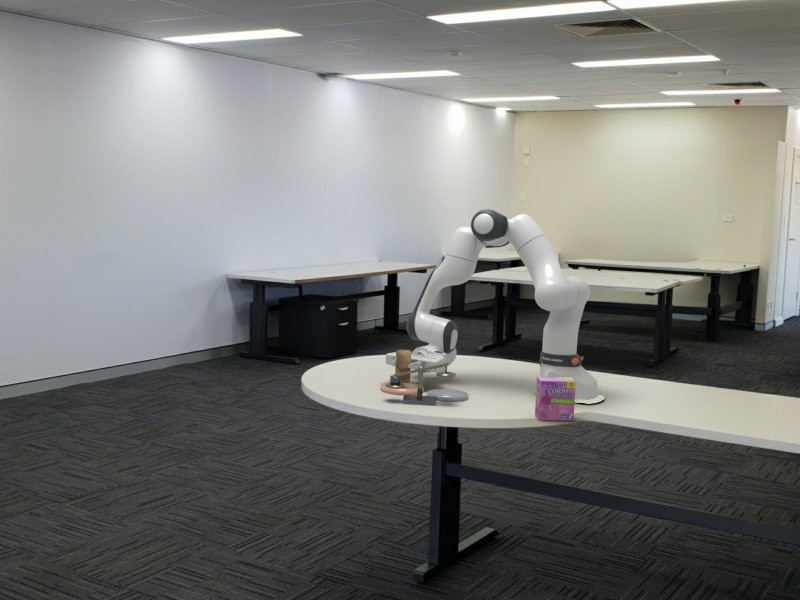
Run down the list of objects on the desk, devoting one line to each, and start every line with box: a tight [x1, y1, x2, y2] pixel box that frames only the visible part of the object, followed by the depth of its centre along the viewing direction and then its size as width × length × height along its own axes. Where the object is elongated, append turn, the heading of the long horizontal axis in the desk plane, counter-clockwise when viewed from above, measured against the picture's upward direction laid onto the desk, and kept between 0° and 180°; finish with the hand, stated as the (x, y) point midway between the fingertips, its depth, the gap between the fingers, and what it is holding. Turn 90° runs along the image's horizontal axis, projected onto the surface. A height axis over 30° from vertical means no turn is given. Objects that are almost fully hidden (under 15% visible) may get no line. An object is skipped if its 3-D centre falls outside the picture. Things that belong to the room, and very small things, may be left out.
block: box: [394, 349, 412, 383], centre depth 272 cm, size 5×5×10 cm
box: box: [534, 376, 576, 422], centre depth 243 cm, size 10×6×12 cm, turn 92°
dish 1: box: [380, 382, 425, 396], centre depth 273 cm, size 14×14×1 cm
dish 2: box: [426, 388, 469, 403], centre depth 266 cm, size 13×13×1 cm
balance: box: [385, 363, 457, 406], centre depth 257 cm, size 21×7×13 cm, turn 87°
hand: (401, 364), depth 271 cm, fingers closed on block, 5 cm apart
